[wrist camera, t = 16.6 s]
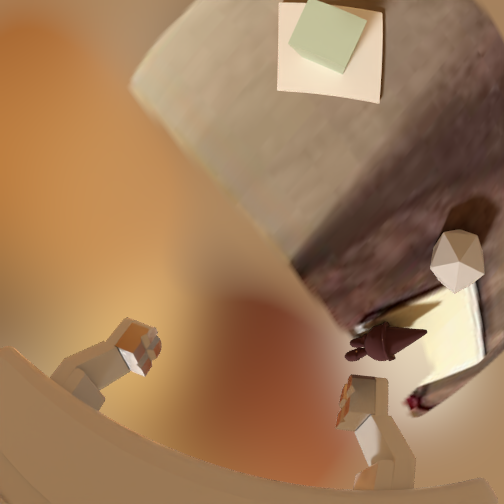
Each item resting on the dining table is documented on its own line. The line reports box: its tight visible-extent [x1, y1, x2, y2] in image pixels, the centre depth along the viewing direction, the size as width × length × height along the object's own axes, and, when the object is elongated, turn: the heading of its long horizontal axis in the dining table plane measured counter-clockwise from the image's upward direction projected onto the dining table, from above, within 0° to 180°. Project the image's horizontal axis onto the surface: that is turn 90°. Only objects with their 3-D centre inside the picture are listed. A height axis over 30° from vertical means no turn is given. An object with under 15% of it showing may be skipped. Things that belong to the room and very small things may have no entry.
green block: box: [288, 0, 367, 75], centre depth 20 cm, size 5×5×10 cm
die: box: [430, 229, 484, 294], centre depth 30 cm, size 8×9×10 cm
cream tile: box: [277, 3, 383, 103], centre depth 25 cm, size 12×12×1 cm
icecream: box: [345, 322, 427, 361], centre depth 42 cm, size 7×8×15 cm
